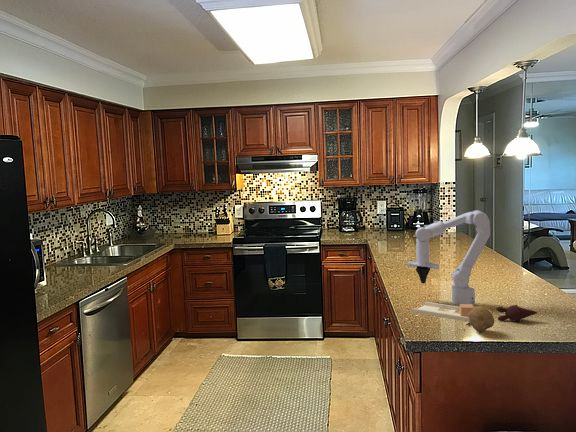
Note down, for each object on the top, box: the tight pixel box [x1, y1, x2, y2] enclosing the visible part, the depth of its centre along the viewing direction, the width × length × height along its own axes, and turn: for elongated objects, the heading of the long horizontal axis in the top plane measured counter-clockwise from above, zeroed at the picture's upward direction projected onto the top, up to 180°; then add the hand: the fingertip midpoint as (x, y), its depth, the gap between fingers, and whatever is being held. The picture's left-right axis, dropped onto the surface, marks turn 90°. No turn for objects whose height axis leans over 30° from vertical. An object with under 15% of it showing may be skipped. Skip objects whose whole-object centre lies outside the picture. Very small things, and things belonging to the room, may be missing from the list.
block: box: [459, 304, 475, 317], centre depth 198 cm, size 5×5×4 cm
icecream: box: [495, 304, 538, 323], centre depth 194 cm, size 7×7×15 cm
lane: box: [411, 301, 472, 327], centre depth 204 cm, size 26×13×4 cm, turn 49°
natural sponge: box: [469, 305, 495, 333], centre depth 183 cm, size 9×9×10 cm
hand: (423, 282), depth 222 cm, fingers closed
